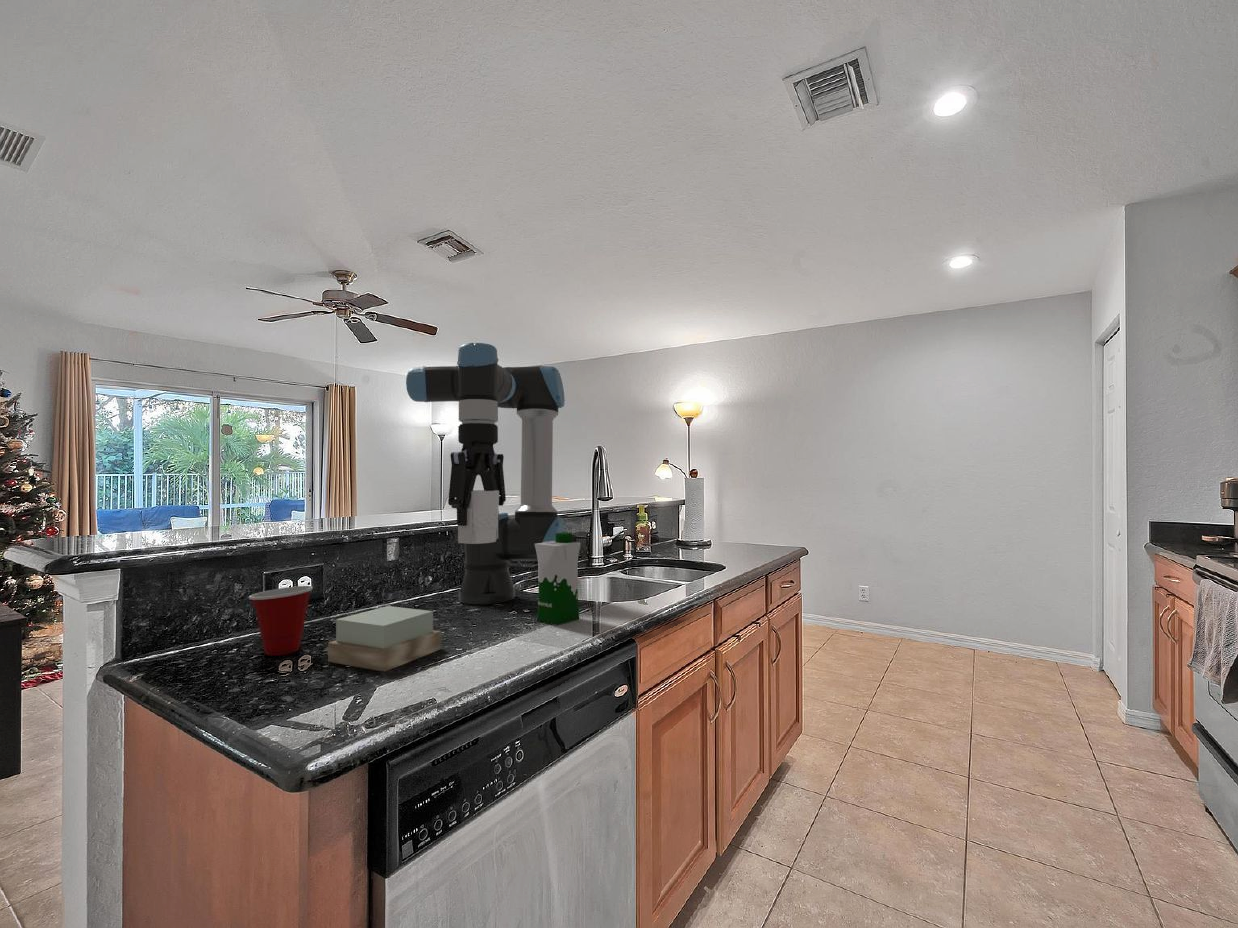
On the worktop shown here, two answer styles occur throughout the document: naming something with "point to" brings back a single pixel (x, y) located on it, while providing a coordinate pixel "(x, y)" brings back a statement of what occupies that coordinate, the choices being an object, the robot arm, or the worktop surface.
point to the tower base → (384, 652)
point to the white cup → (484, 516)
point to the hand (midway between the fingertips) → (478, 540)
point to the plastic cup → (281, 618)
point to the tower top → (384, 626)
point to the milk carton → (558, 580)
